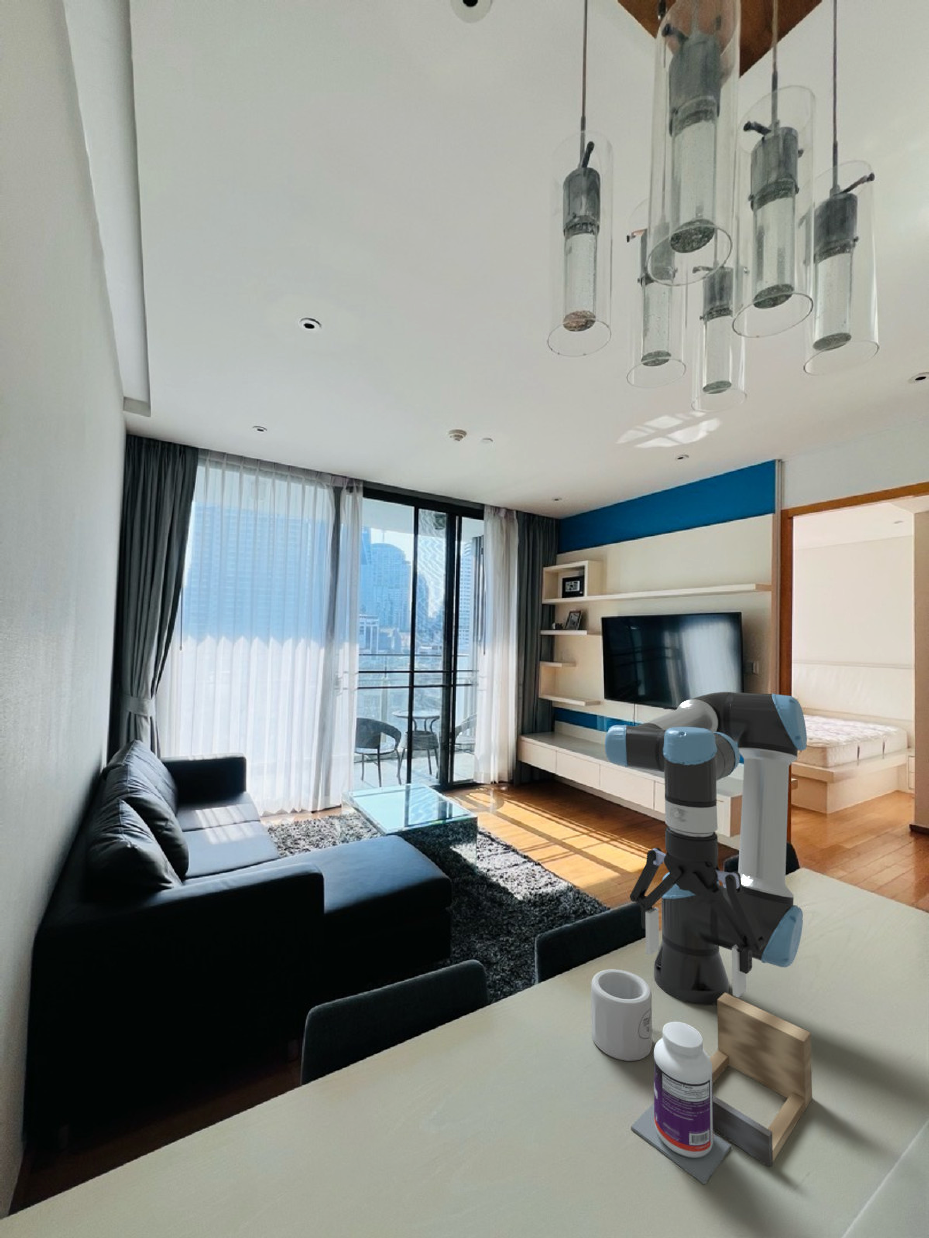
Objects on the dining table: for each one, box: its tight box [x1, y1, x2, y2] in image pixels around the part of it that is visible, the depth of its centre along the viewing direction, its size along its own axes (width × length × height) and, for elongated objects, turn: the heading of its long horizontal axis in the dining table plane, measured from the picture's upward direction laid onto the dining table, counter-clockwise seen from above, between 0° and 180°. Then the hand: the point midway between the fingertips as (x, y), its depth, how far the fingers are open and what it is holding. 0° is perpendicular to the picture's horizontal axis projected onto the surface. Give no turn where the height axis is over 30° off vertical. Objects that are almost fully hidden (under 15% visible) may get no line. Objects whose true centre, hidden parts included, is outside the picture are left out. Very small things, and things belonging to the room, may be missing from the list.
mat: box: [630, 1102, 732, 1185], centre depth 78 cm, size 11×8×1 cm
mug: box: [590, 968, 653, 1062], centre depth 100 cm, size 14×11×10 cm
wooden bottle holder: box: [709, 993, 813, 1168], centre depth 86 cm, size 14×18×10 cm
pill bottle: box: [653, 1021, 714, 1158], centre depth 79 cm, size 8×8×14 cm
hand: (693, 970), depth 82 cm, fingers open, 13 cm apart
